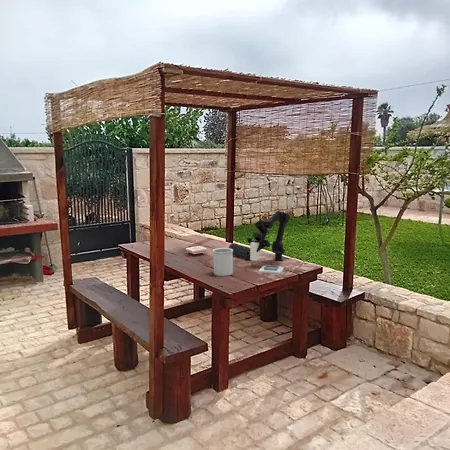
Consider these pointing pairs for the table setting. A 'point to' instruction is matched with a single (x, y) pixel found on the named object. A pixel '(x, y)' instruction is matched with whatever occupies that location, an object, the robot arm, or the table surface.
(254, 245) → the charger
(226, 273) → the utensil holder
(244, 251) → the muzzle brake
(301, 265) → the table surface
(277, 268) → the dock plate
